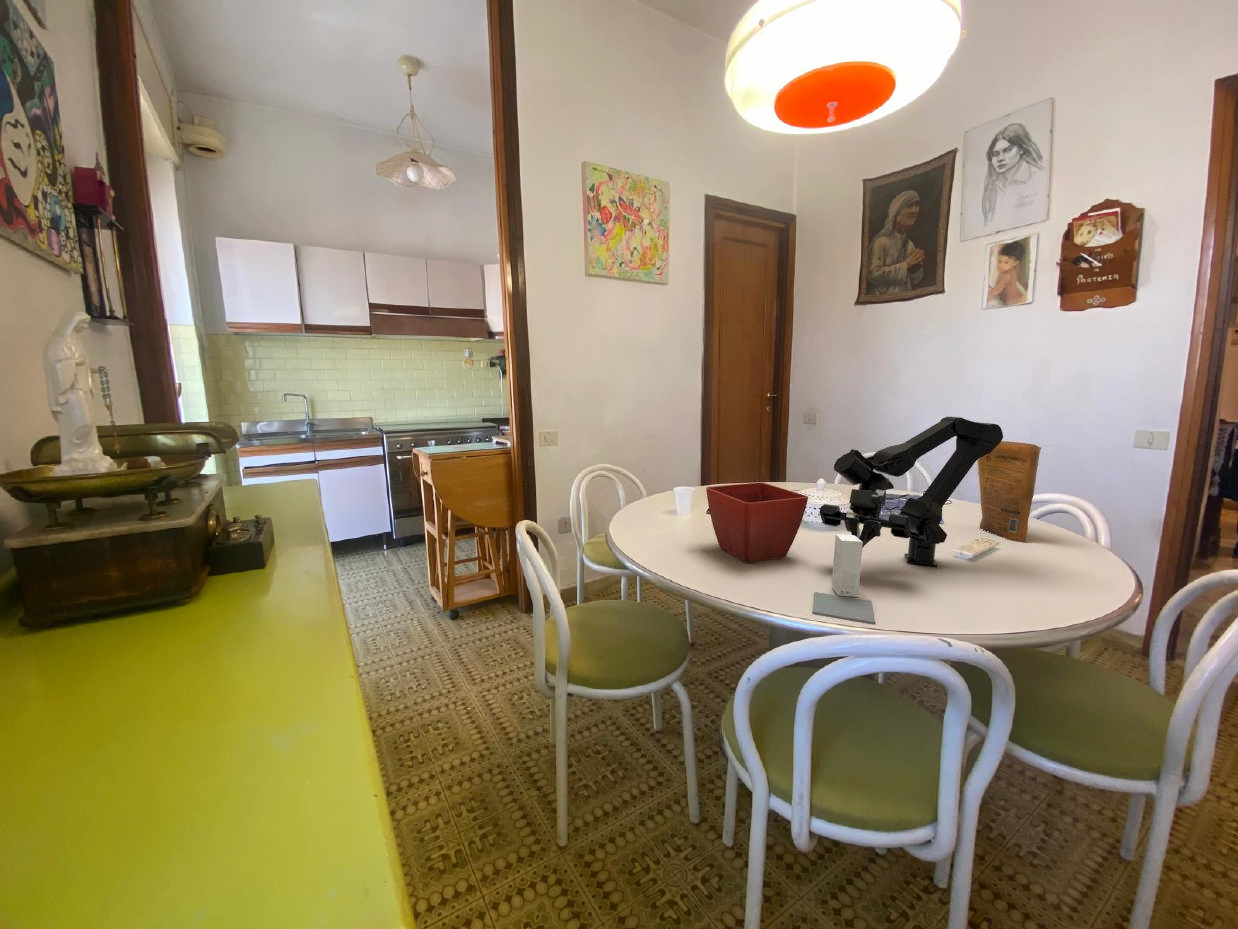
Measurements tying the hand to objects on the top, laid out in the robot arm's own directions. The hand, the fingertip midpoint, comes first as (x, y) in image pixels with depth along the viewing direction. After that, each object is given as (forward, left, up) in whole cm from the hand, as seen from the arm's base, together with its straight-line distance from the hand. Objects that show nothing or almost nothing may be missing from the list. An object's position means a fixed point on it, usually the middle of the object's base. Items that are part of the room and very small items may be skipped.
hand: (855, 552), depth 110 cm
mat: (+15, -2, -7) cm, 17 cm away
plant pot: (-11, -24, -7) cm, 27 cm away
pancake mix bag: (-56, +41, -7) cm, 70 cm away
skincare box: (+7, -2, -7) cm, 10 cm away
